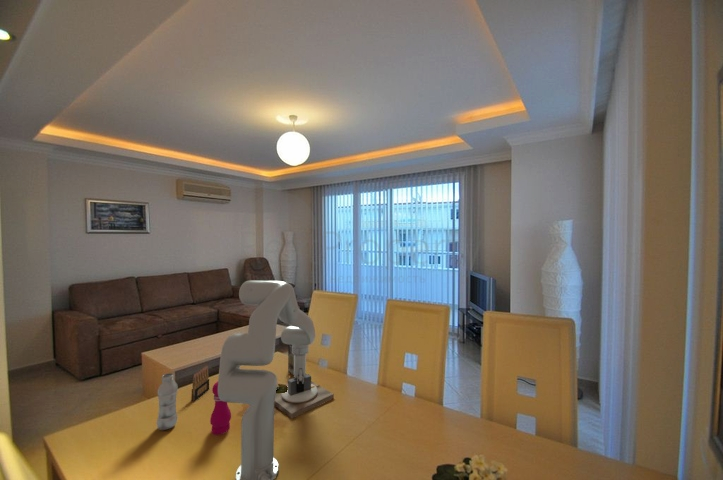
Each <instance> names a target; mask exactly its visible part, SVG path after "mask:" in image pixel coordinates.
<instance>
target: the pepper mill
mask: <svg viewBox="0 0 723 480" xmlns="http://www.w3.org/2000/svg"><path fill="white" fill-rule="evenodd" d="M211 391H212V392H211V393H212V394H213V400H214V408H213V410H212V413H211V415H210V421H209V422H210V425H211V434H212V435H215V436H216V435H217V436H218V435H219V436H220V435H223V434H225V433H227V432H229V430H230V427H231V425H230V421H231V419H232V413H231V409H230V407H229V406H228V402H223V401H221V400H220V398H219V396H218V381H216V382H215V383H214V384H213V386H212V390H211Z"/></svg>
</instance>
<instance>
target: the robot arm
mask: <svg viewBox="0 0 723 480" xmlns="http://www.w3.org/2000/svg"><path fill="white" fill-rule="evenodd" d="M238 291H239V292H238V296H239V297H238V298H239V300H240V302H241V303H242V304H243V305H246V306H257V307H256V308H255V309H254V310H253V312H252V313H251V314H250V316H249V322H248V328H247V329H248V330H247V333H245V332H244V333H242V332H240V333H239V332H237V333H232V334H231V335H228V337H227V338H226V339H225V341H224V342H223V345H222V347H221V351H220V357H219V358H220V360H219V368H218V369H219V370H218V379H217V382H218V396H219V398H220V400H221V401H223V402H227V403H230V404H231V403H233V404H243V405H244V404H245V405H249V406H248V408H247V409H246V410H245V411H244V413H243V414H242V417H241V423H240V424H241V425H240V426H241V428H240V429H241V432H240V434H241V436H240V438H241V439H240V440H241V441H240V449H241V450H240V465H239V466H238V468H237V469H236V472H235V477H234V479H235V480H275V479H276V478H277V475H278V473H279V469H280V468H279V466H280V465H279V462H278V460H277V459H276V457H274V456H275V455H274V451H275V449H274V447H275V446H274V445H275V443H274V442H275V440H274V439H275V438H274V437H275V433H274V432H275V423H274V422H275V405H274V403H275V396H276V390H277V389H278V376H277V375H276V373H274V372H272V371H270V370H267V369H266V370H265V369H257V368H256V369H255V368H254V369H253V368H249V369H248V368H241V366H250V367H265V366H268V365H269V364H271V363H272V362H273V359H274V357H275V352H276V351H275V350H276V340H277V339H276V338H277V336H276V335H277V324H278V323H277V322H278V319H279V320H280V321H281V322H283V324H284V323H285V324H286V325H288V326H286V327H284V329H282V332H281V334H280V339H281V342H282V343H283V344H285V345H288V344H291V345H292V354H293V355H294V375H293V378H296V377H297V393H299V392H304V377H305V375H306V368H307V367H306V366H307V365H306V364H307V355H308V354H309V352H310V350H309V349H310V347H309V346H310V345H312V344H313V343H314V342H315V339H316V329H315V326H314V321H313V319H312V318H311V317H310V316H309V315H308V314H306V313H305V312H304V311H303V310H301V309H300V308H299V304H298V301H297V297H296V292H295V289H294V287H293V285H292V284H290V283H289V282H286V281H284V280H283V281H282V280H255V279H254V280H252V279H251V280H246V281H244V282H243V283H242V284H241V286H240V287H239V290H238Z"/></svg>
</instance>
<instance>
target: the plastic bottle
mask: <svg viewBox="0 0 723 480" xmlns="http://www.w3.org/2000/svg"><path fill="white" fill-rule="evenodd" d="M174 378H175V377H174V373H173V372H168V373H166V374H163V375H162V376H161V382H162V383H161V384H160V385H159V387H158V388H157V398H158V413H157V414H158V416H157V418H156V419H157V421H156V427H157V429H158V430H159V431H166V430H169V429H172V428H173V427H174V426H175V425H176V424H177V422H178V413H177V408H176V407H177V405H176V404H177V402H176V401H177V395H178V388H179V385H178V383H177V382H176V381H175V380H174Z"/></svg>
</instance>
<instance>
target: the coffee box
mask: <svg viewBox="0 0 723 480" xmlns="http://www.w3.org/2000/svg"><path fill="white" fill-rule="evenodd" d="M287 345H288V347H287V354H288V357H287V362H288V363H287V364H288V365H287V371H288V372H289V373H290V374H291V375H292V376H294V355H293V354H292V345H291V344H287Z"/></svg>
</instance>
